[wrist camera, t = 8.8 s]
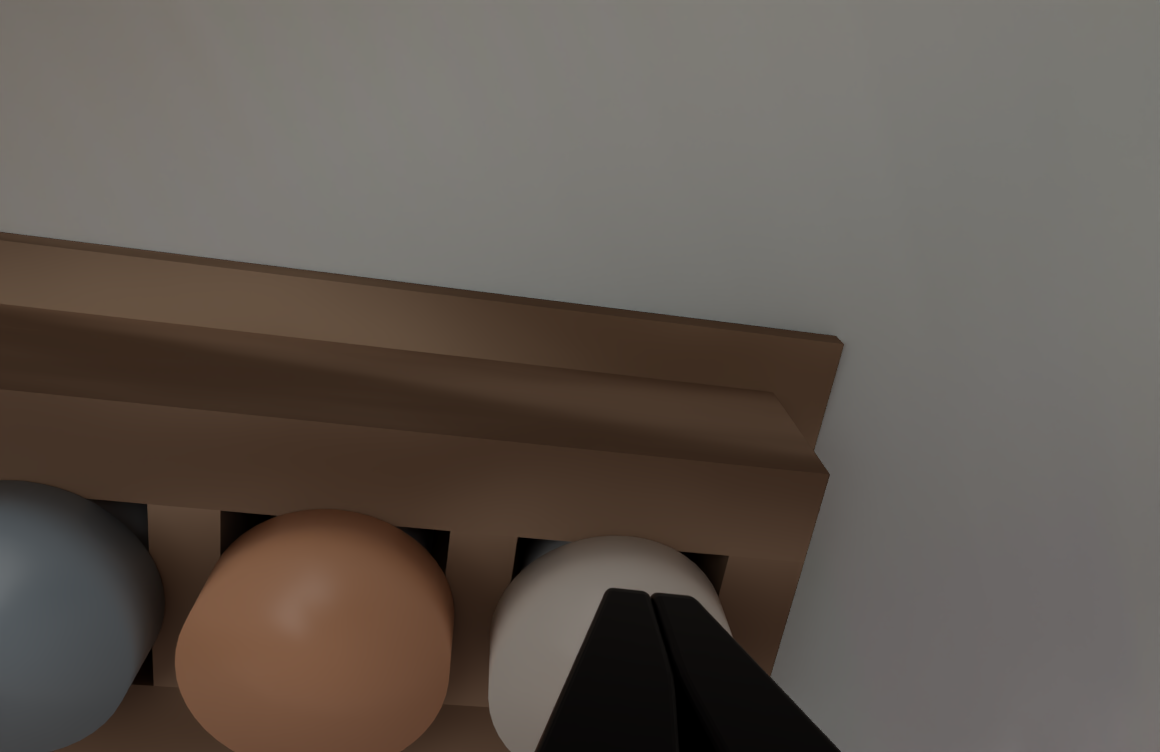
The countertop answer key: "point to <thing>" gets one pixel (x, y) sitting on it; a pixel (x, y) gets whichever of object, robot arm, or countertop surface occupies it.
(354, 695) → the knob mid
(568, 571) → the knob
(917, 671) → the countertop surface
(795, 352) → the mount
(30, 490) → the knob
